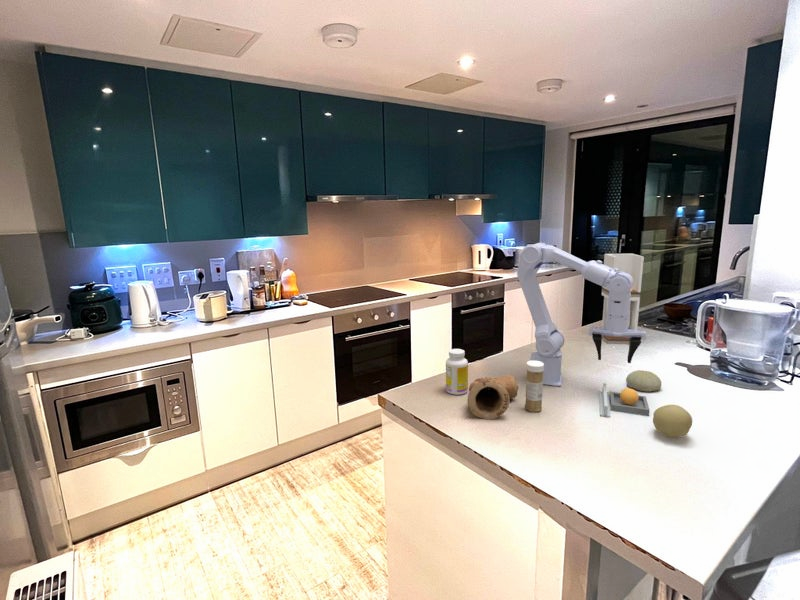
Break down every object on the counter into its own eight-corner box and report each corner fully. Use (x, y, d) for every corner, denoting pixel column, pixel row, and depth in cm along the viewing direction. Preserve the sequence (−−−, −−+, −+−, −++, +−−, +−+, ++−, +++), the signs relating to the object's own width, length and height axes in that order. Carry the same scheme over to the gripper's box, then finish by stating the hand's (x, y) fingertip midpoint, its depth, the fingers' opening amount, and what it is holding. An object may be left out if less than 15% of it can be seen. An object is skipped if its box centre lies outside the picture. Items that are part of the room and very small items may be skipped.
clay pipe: (455, 417, 122) (480, 425, 107) (449, 380, 122) (473, 383, 108) (511, 404, 127) (542, 410, 113) (505, 369, 128) (535, 370, 114)
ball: (619, 406, 116) (620, 391, 115) (619, 399, 120) (620, 384, 119) (638, 408, 114) (639, 393, 113) (637, 402, 118) (638, 386, 117)
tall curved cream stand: (598, 335, 182) (604, 253, 175) (624, 336, 180) (632, 253, 173) (607, 343, 171) (614, 256, 164) (635, 344, 169) (643, 256, 162)
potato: (690, 448, 97) (694, 415, 95) (650, 439, 101) (654, 408, 99) (689, 433, 103) (693, 402, 101) (652, 425, 107) (655, 395, 105)
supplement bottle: (470, 388, 132) (470, 349, 129) (464, 397, 126) (464, 355, 123) (449, 385, 134) (449, 346, 132) (442, 393, 129) (442, 353, 126)
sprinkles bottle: (533, 403, 120) (535, 358, 117) (545, 410, 116) (547, 363, 113) (521, 407, 118) (522, 361, 116) (532, 414, 114) (534, 366, 112)
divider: (600, 416, 112) (601, 405, 112) (599, 392, 127) (600, 382, 126) (610, 417, 111) (611, 406, 111) (608, 393, 126) (609, 384, 125)
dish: (610, 410, 115) (611, 404, 115) (609, 397, 123) (610, 391, 123) (649, 416, 112) (649, 410, 111) (645, 401, 120) (645, 396, 119)
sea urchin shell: (669, 388, 124) (650, 369, 124) (647, 404, 126) (628, 386, 126) (657, 376, 133) (639, 358, 133) (636, 392, 135) (618, 374, 135)
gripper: (589, 316, 120) (586, 361, 123) (648, 320, 114) (644, 368, 117) (589, 310, 126) (586, 354, 129) (645, 314, 120) (641, 359, 123)
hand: (614, 360), depth 123 cm, fingers open, 7 cm apart
